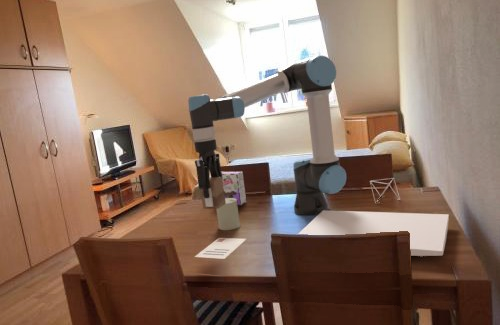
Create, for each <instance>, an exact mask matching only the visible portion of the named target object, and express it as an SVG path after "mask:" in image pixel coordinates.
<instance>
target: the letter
mask: <svg viewBox="0 0 500 325" xmlns="http://www.w3.org/2000/svg"><path fill="white" fill-rule="evenodd" d="M246 240H247V238H234V237H233V238H232V237H231V238H230V237H218V238H217V239H216V240H214V241H213V242H212V243H210V244H209V245H208V246H206V247H205V248H204V249H202V250H201V251H199V252H198V253H197V254H196V255H195V256H194V258H203V259H206V258H207V259H219V260H220V259H221V260H224V259H226V258H228V256H230V255H231V254H232V253H233V252H234V251H235V250H236V249H237V248H238V247H240V246H241V245H242V243H245V241H246Z"/></svg>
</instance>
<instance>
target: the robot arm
mask: <svg viewBox="0 0 500 325" xmlns="http://www.w3.org/2000/svg"><path fill="white" fill-rule="evenodd" d="M336 78H337V68H336V66H335V64H334V62H333V60H331V59H330V58H329V57H328V56H326V55H313V56H310V57H307V58H303V59H300V60H297V61H295V62H293V63H292V64H290V65H287V66H285V67H284V68H281V69H280V70H277V71H276V72H275V74H273V75H271V76H268V77H266V78H263V79H260V80H258V81H257V82H254V83H251V84H249V85H246V86H243V87H241V88H239V89H236V90H234V91H232V92H230V93H226V94H224V95H223V96H220V97H217V98H214V99H211V97H210V95H209V94H201V95H200V94H199V95H193V96H189V97H188V100H187V101H188V112H189V117H190V123H191V128H192V135H193V136H192V138H193V141H195V142H194V143H193V144H194V150H195V153H197V154H198V159H197V160H196V159H195V160H194V164H195V167H196V176H197V184H198V188H199V189H203V192H204V198H205V204H206V207H213V199H212V192H211V188H209V177H219V176H220V177H222V172H223V171H222V167H221V166H222V165H221V162H220V153H215V150H217V149H218V148H217V146H218V145H217V141H216V140H217V139H216V134H215V128H214V126H215V125H214V122H216V121H217V122H218V121H225V120H232V119H238V118H241V117H243V116H244V115H245V108H248V107H250V106H253V105H255V104H257V103H259V102H262V101H264V100H266V99H269V98H271V97H273V96H276V95H278V94H281V93H282V94H287V93H289V92H292V91H296V90H301V95H303V96H304V97H305V98H306V104H307V113H308V123H309V130H310V131H309V132H310V140H311V142H310V143H311V150H312V157H311V158H305V159H300V160H296V161H294V162H293V176H294V183H295V193H296V195H295V201H294V204H293V210H294V213H295V214H297V215H302V216H312V215H319V214H320V213H321V212H322V211H323V210H328V211H329V203H328V201H327V198H326V196H325V194H330V195H331V194H336V193H338V192H340V191H341V190H342V189H343V188H344V186H346V182H347V172H346V170H345V168H344V167H342V166H341V165H340V158H339V156H337V155H336V153H335V145H334V135H333V134H334V133H333V126H332V125H333V124H332V116H331V106H330V105H331V104H330V97H329V95H330V93H331V92H332V91H333V87H332V86H333V85H332V84H333V83H334V82H335V79H336ZM222 179H223V177H222Z"/></svg>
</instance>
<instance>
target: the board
mask: <svg viewBox="0 0 500 325" xmlns="http://www.w3.org/2000/svg"><path fill="white" fill-rule="evenodd" d="M449 215H450V214H448V213H447V214H446V213H445V214H443V213H441V214H440V213H418V212H417V213H416V212H415V213H414V212H386V211H385V212H384V211H382V212H381V211H355V210H353V211H351V210H329V209H328V210H323V211H322V212H321V213H320V214H317V215H316V217H314V218H313V219H312V220H311V221H310V222H309V223H308V224H307V225H306V226H304V227H303V229H302V230H300V232H298V233H297V234H308V235H345V234H366V233H380V232H399V231H408V232H409V233H410V250H411V256H413V257H414V256H417V257H419V256H420V258H423V256H424V257H427V256H428V257H429V256H436V257H437V256H438V257H439V256H440V257H441V256H443V255H444V251H445V247H446V242H447V237H448V236H447V235H448V230H449V229H448V228H449V222H450V221H449V220H450V218H449V217H450V216H449Z"/></svg>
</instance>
